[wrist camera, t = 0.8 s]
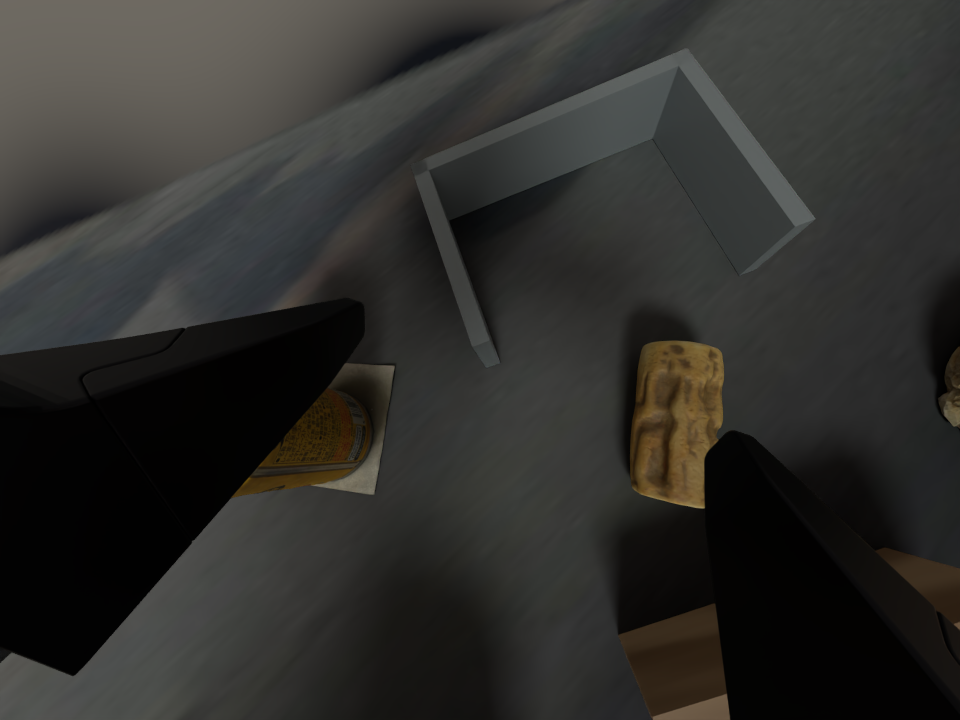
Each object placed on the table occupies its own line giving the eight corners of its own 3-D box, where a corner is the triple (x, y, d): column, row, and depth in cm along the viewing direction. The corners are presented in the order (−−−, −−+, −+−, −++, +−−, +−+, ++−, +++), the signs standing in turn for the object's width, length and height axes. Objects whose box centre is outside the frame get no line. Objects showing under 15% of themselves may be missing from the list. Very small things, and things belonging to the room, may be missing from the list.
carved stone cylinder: (698, 504, 19) (739, 517, 15) (619, 488, 20) (639, 497, 16) (703, 361, 21) (741, 342, 17) (631, 352, 22) (651, 331, 18)
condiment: (277, 480, 24) (30, 509, 12) (305, 360, 26) (114, 289, 14) (375, 494, 22) (200, 542, 11) (396, 366, 24) (267, 293, 13)
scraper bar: (923, 612, 17) (1126, 698, 11) (644, 699, 18) (694, 821, 12) (882, 546, 17) (1049, 594, 12) (617, 633, 18) (652, 717, 13)
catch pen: (755, 269, 22) (815, 219, 17) (486, 368, 23) (472, 347, 18) (659, 123, 25) (687, 48, 21) (433, 215, 27) (410, 164, 22)
